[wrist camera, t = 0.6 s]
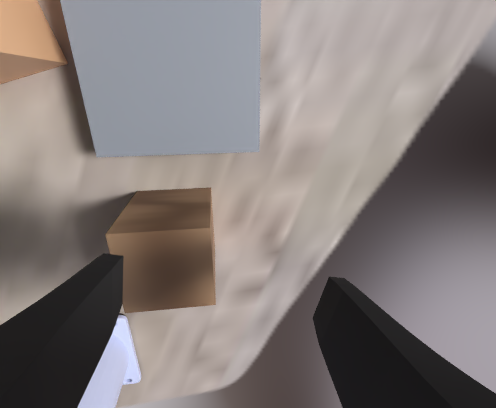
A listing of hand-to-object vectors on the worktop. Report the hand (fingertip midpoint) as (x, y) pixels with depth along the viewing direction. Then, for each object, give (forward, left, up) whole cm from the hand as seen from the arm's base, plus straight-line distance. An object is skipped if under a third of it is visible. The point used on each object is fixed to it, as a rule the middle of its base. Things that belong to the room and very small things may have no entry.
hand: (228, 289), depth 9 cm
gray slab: (-2, +8, -11) cm, 13 cm away
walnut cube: (-3, -2, -11) cm, 11 cm away
